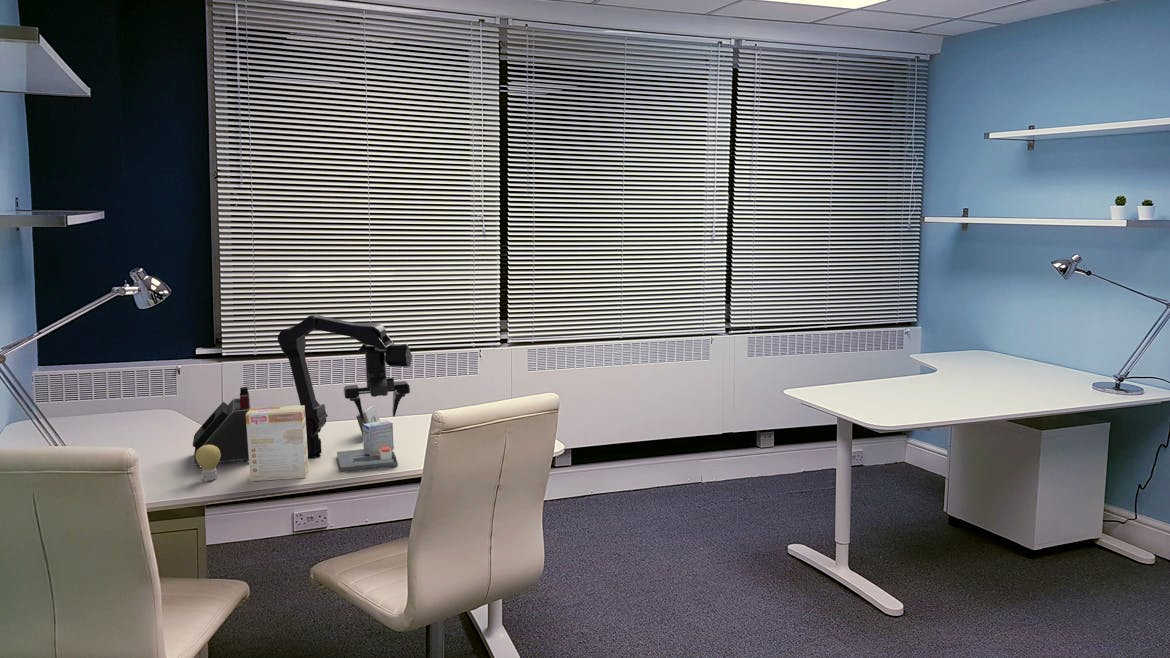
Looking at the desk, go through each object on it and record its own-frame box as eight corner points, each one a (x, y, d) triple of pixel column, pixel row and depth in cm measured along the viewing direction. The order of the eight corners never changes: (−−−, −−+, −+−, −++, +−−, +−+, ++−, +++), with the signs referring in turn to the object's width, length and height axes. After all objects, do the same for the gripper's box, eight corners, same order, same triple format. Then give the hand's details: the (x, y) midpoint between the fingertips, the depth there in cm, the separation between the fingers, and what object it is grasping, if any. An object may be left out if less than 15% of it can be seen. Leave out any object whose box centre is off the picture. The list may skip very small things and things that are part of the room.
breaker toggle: (381, 462, 264) (381, 450, 263) (379, 458, 267) (379, 446, 267) (391, 461, 264) (391, 449, 264) (390, 457, 268) (389, 445, 268)
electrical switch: (374, 439, 292) (370, 411, 290) (358, 440, 292) (354, 412, 291) (383, 431, 301) (379, 404, 300) (368, 432, 302) (364, 405, 300)
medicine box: (387, 447, 277) (385, 419, 276) (394, 450, 274) (393, 422, 272) (363, 452, 272) (361, 424, 271) (370, 455, 269) (369, 427, 267)
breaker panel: (341, 472, 259) (340, 462, 259) (336, 456, 274) (336, 447, 274) (397, 466, 264) (397, 457, 264) (390, 451, 279) (390, 442, 279)
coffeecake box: (309, 470, 261) (305, 404, 258) (305, 478, 254) (301, 411, 251) (254, 473, 259) (250, 407, 255) (249, 481, 252) (245, 413, 248)
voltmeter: (196, 453, 278) (191, 390, 274) (253, 448, 283) (249, 385, 280) (193, 469, 263) (188, 402, 259) (253, 463, 268) (249, 397, 265)
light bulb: (208, 475, 257) (205, 441, 256) (227, 477, 256) (224, 442, 254) (192, 482, 251) (189, 447, 250) (211, 484, 249) (209, 449, 248)
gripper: (345, 374, 258) (348, 427, 261) (411, 369, 264) (413, 421, 267) (342, 367, 269) (345, 418, 271) (406, 362, 275) (408, 412, 277)
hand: (378, 417), depth 271 cm, fingers open, 9 cm apart
